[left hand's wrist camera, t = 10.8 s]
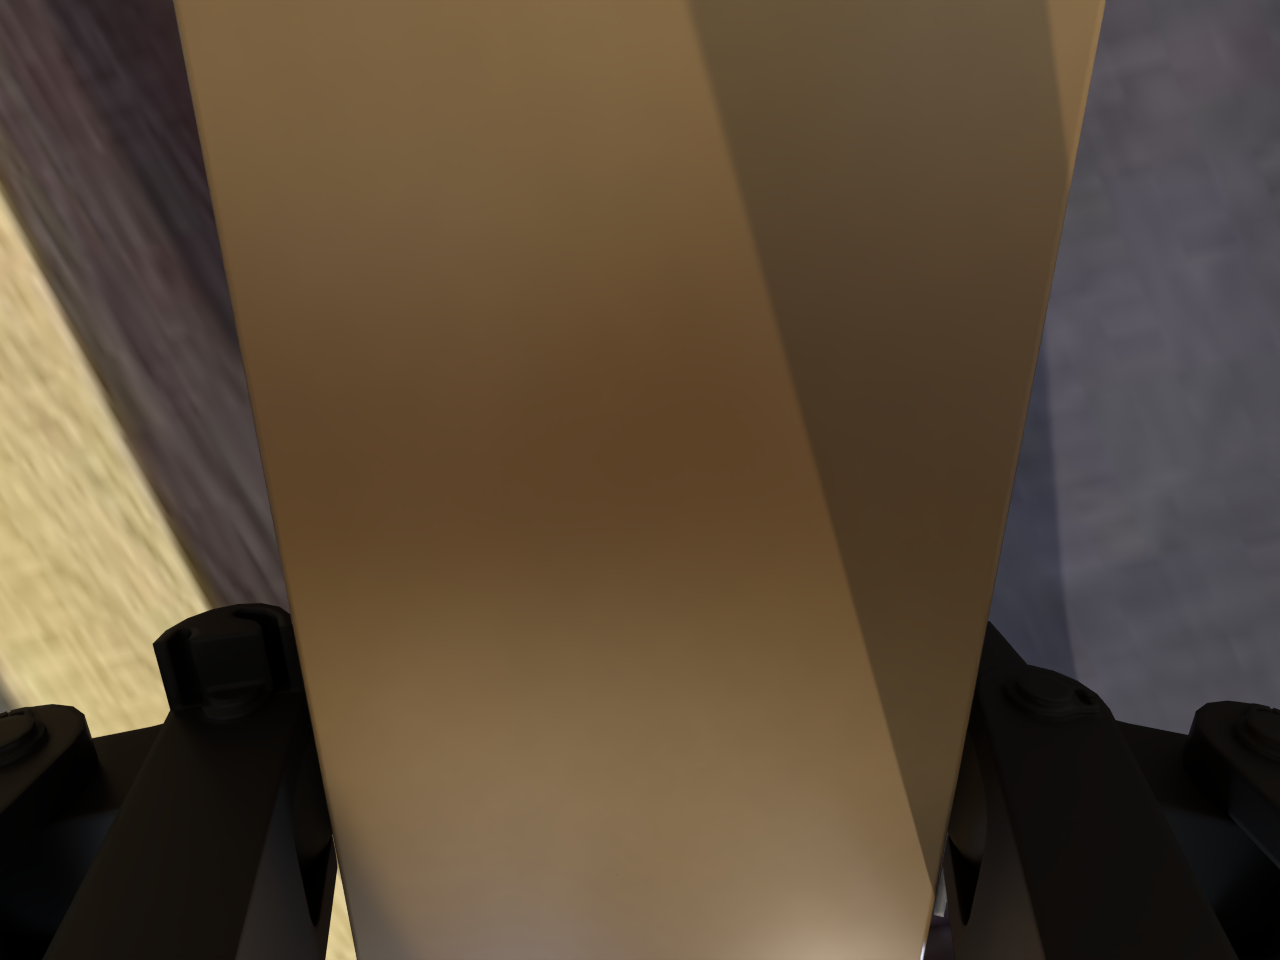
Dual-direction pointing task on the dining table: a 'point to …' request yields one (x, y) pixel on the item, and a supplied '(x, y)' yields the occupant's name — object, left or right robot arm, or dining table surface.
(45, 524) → the dining table surface
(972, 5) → the bar
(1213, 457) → the dining table surface
